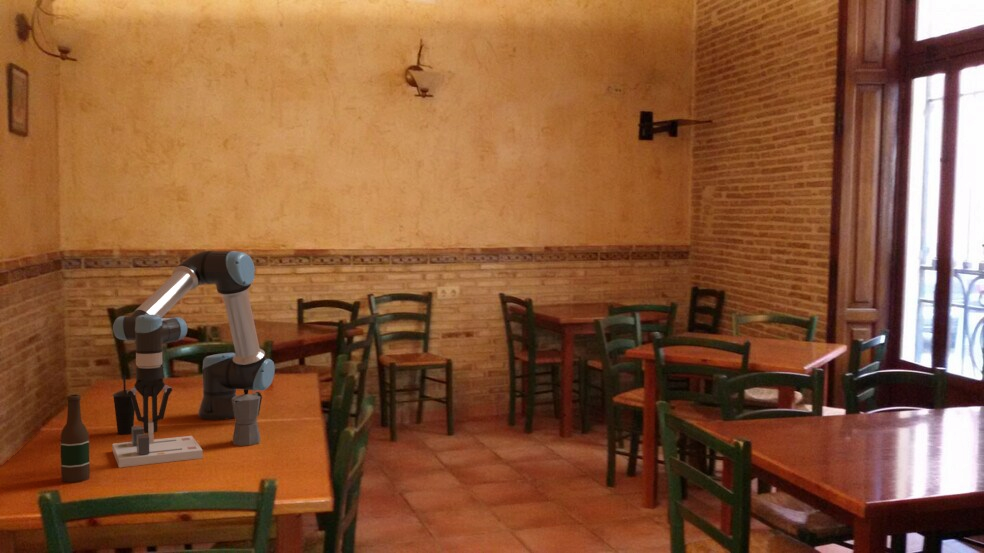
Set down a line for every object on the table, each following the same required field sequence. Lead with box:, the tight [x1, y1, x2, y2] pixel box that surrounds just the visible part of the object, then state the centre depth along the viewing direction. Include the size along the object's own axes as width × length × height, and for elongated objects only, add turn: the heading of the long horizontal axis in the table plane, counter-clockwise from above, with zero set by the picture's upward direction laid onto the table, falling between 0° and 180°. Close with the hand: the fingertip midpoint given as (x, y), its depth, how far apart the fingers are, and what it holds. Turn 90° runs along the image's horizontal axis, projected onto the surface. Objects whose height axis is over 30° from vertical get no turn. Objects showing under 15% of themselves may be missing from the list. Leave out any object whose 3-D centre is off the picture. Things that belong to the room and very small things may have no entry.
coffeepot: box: [231, 389, 263, 447], centre depth 297 cm, size 15×9×18 cm, turn 162°
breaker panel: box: [112, 435, 204, 469], centre depth 281 cm, size 24×20×3 cm
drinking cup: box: [112, 374, 138, 436], centre depth 307 cm, size 8×8×20 cm
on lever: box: [131, 425, 145, 446], centre depth 283 cm, size 3×5×5 cm, turn 27°
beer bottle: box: [60, 393, 91, 484], centre depth 254 cm, size 8×8×24 cm
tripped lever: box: [137, 433, 149, 455], centre depth 273 cm, size 3×5×5 cm, turn 27°
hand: (150, 442), depth 274 cm, fingers closed
